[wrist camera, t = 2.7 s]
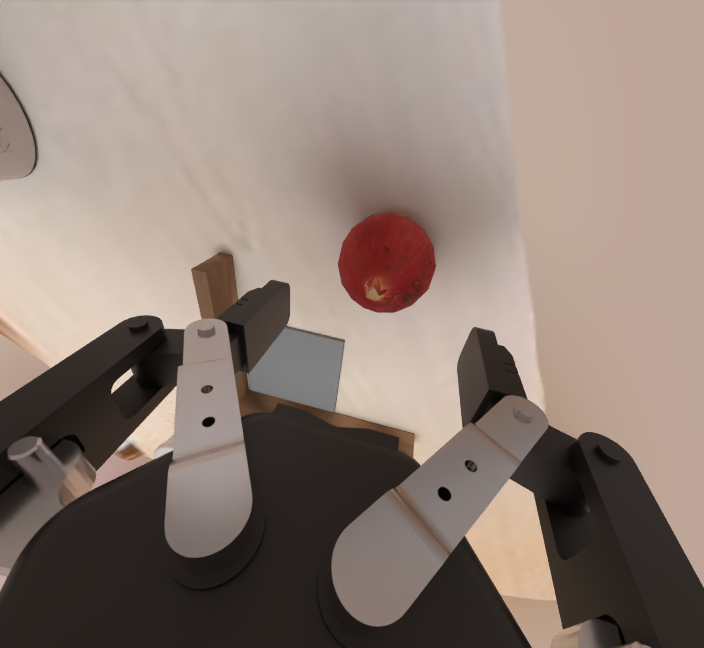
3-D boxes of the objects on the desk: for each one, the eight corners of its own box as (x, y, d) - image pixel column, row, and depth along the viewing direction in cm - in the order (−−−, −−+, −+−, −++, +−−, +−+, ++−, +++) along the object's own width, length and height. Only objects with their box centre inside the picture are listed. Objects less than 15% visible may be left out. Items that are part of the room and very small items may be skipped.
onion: (452, 238, 20) (464, 290, 13) (398, 296, 23) (386, 361, 16) (384, 183, 19) (360, 210, 12) (338, 251, 22) (300, 302, 15)
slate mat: (251, 388, 33) (250, 390, 33) (243, 316, 28) (241, 317, 27) (334, 410, 32) (334, 412, 32) (344, 340, 26) (343, 342, 26)
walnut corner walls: (240, 393, 34) (222, 417, 32) (219, 253, 24) (191, 269, 21) (411, 440, 32) (409, 470, 29) (467, 306, 22) (472, 332, 19)
